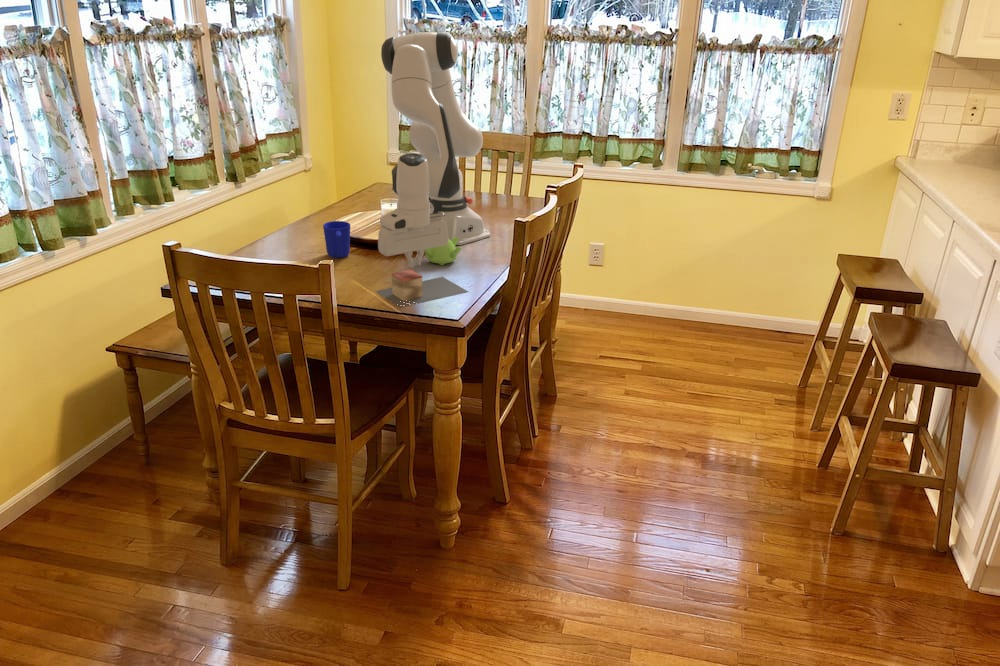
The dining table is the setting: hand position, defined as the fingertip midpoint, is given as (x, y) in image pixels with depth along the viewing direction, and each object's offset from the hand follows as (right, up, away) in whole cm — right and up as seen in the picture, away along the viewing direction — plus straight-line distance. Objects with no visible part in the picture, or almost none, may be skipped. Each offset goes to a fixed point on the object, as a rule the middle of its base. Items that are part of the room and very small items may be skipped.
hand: (414, 265), depth 220 cm
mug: (-27, +5, +30) cm, 40 cm away
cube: (-2, -3, -1) cm, 3 cm away
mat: (+2, -7, +5) cm, 9 cm away
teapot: (+6, +3, +28) cm, 28 cm away
